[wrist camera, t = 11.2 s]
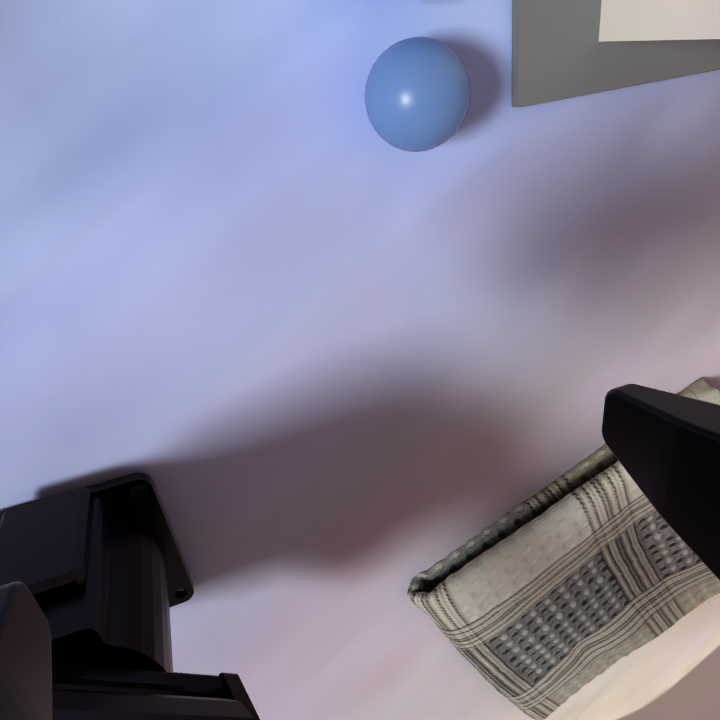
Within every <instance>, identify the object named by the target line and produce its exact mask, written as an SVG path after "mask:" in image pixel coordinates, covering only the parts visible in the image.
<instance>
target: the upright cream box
mask: <svg viewBox="0 0 720 720" xmlns="http://www.w3.org/2000/svg"><path fill="white" fill-rule="evenodd" d="M699 39H720V0H602V2H601V16H600V30H599V42H605V41H652V40H699Z"/></svg>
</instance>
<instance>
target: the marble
mask: <svg viewBox="0 0 720 720" xmlns="http://www.w3.org/2000/svg"><path fill="white" fill-rule="evenodd" d="M469 99H470V85H469V79H468V75H467V72H466V69H465V67H464V65H463V63H462V61H461V60H460V58H459V57H458V56H457V55H456V53H455V52H454V51H453V50H452V49H450V48H449V47H448V46H446V45H445V44H443V43H442V42H439V41H437V40H435V39H431V38H425V37H413V38H409V39H404V40H402V41H399V42H397V43H395V44H394V45H392V46H390V47H389V48H388V49H387V50H385V51H384V52H383V53H382V54H381V55H380V56H379V58H378V59H377V60H376V62H375V63H374V65H373V67H372V69H371V71H370V73H369V76H368V79H367V83H366V89H365V105H366V111H367V114H368V117H369V120H370V122H371V124H372V126H373V128H374V129H375V131H376V132H377V133H378V134H379V136H380V137H381V138H382V139H383V140H385V141H386V142H387V143H389V144H390V145H392V146H394V147H396V148H398V149H401V150H405V151H411V152H419V151H426V150H430V149H433V148H435V147H437V146H439V145H441V144H443V143H444V142H446V141H447V140H448V139H449V138H450V137H451V136H452V135H453V134H454V133H455V132H456V131H457V130H458V128H459V127H460V125H461V123H462V122H463V120H464V118H465V115H466V113H467V110H468V105H469Z"/></svg>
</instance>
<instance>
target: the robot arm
mask: <svg viewBox="0 0 720 720" xmlns="http://www.w3.org/2000/svg"><path fill="white" fill-rule="evenodd" d="M602 434H603V438H604V441H605V443H606V444H607V446H608V447H609V449H610V450H611V451H612V453H613V454H614V455H615V457H616V458H617V459H618V461H619V462H620V463H621V465H622V466H623V467H624V469H625V470H626V471H627V473H628V474H629V475H630V477H631V478H632V479H633V481H634V482H635V483H636V484H637V486H638V487H639V488H640V490H641V491H642V492H643V494H644V495H645V496H646V498H647V499H648V500H649V502H650V503H651V504H652V506H653V507H654V508H655V509H656V511H657V512H658V513H659V514H660V516H661V517H662V518H663V519H664V520H665V521H666V523H667V524H668V525H669V526H670V527H671V528H672V529H673V531H674V532H675V533H676V534H677V535H678V536H679V537H680V538H681V539H682V540H683V541H684V542H685V544H686V545H687V546H688V547H689V548H690V549H691V550H692V551H693V552H694V553H695V554H696V556H697V557H698V558H699V559H700V560H701V561H702V562H703V563H704V564H705V565H706V566H707V567H708V569H709V570H710V571H711V572H712V573H713V574H714V575H715V576H716V577H717V578H718V579H719V581H720V405H718V404H714V403H710V402H706V401H701V400H697V399H693V398H689V397H685V396H681V395H677V394H673V393H669V392H665V391H661V390H657V389H652V388H648V387H644V386H640V385H636V384H627V385H624V386H621V387H617V388H614V389H612V390H610V391H609V392H608V393H607V395H606V397H605V404H604V414H603V423H602ZM136 485H141V486H144V488H142V489H140V490H135V489H133V488H132V487H134V486H136ZM180 589H184V590H182V591H177V590H180ZM193 593H194V591H193V582H192V579H191V577H190V574H189V572H188V569H187V567H186V564H185V561H184V559H183V556H182V554H181V551H180V549H179V546H178V544H177V541H176V539H175V536H174V533H173V531H172V528H171V526H170V523H169V521H168V518H167V516H166V513H165V511H164V508H163V506H162V503H161V500H160V498H159V495H158V493H157V490H156V488H155V485H154V483H153V480H152V479H151V477H150V476H149V475H147V474H145V473H133V474H130V475H127V476H123V477H120V478H117V479H113V480H110V481H106V482H103V483H100V484H96V485H93V486H90V487H86V488H78V489H75V490H72V491H68V492H65V493H62V494H58V495H55V496H51V497H48V498H45V499H41V500H38V501H35V502H31V503H28V504H24V505H21V506H18V507H14V508H11V509H8V510H6V511H5V512H2V513H0V720H260V719H259V717H258V715H257V712H256V710H255V708H254V706H253V704H252V702H251V700H250V698H249V696H248V694H247V692H246V690H245V688H244V686H243V684H242V682H241V680H240V678H239V676H238V674H232V673H220V674H219V676H214V675H202V674H189V673H177V672H173V662H172V645H171V628H170V611H169V607H172V606H175V605H177V604H180V603H183V602H185V601H187V600H189V599H190V598H191V597H192V596H193Z"/></svg>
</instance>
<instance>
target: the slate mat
mask: <svg viewBox="0 0 720 720" xmlns="http://www.w3.org/2000/svg"><path fill="white" fill-rule="evenodd" d="M601 2H602V0H512V107H524V106H529V105H534V104H539V103H545V102H550V101H555V100H561V99H566V98H571V97H576V96H582V95H587V94H592V93H597V92H603V91H608V90H613V89H619V88H624V87H629V86H634V85H640V84H645V83H650V82H656V81H661V80H666V79H671V78H677V77H682V76H687V75H692V74H698V73H703V72H708V71H714V70H719V69H720V39H699V40H652V41H605V42H599V30H600V16H601Z"/></svg>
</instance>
